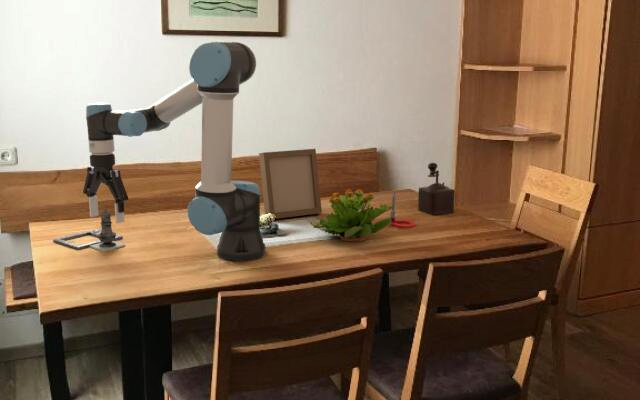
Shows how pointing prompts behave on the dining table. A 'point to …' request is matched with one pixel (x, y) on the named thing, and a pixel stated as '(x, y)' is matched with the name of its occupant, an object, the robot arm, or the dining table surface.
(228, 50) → the robot arm
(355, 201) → the potted flower
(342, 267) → the dining table surface
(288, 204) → the photo frame
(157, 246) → the dining table surface
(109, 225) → the dark grey chess piece
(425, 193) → the manual coffee grinder
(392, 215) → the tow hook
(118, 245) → the mat
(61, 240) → the grey metal rectangular frame
